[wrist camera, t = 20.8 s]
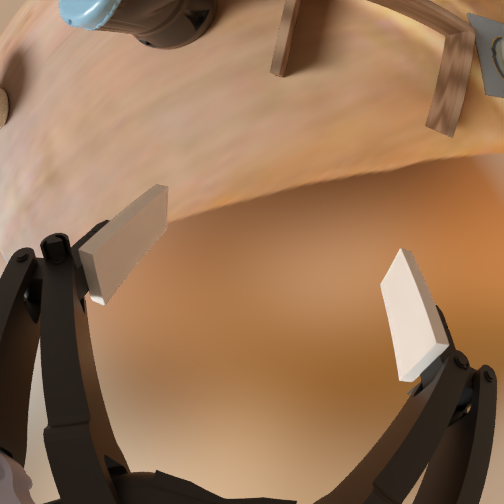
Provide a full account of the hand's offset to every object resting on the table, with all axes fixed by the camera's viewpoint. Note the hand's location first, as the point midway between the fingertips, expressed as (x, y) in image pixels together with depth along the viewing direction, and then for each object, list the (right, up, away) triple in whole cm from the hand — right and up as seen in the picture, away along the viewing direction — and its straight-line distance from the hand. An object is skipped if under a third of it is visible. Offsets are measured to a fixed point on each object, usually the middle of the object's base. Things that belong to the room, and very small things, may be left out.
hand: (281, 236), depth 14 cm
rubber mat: (+44, +34, +6) cm, 56 cm away
